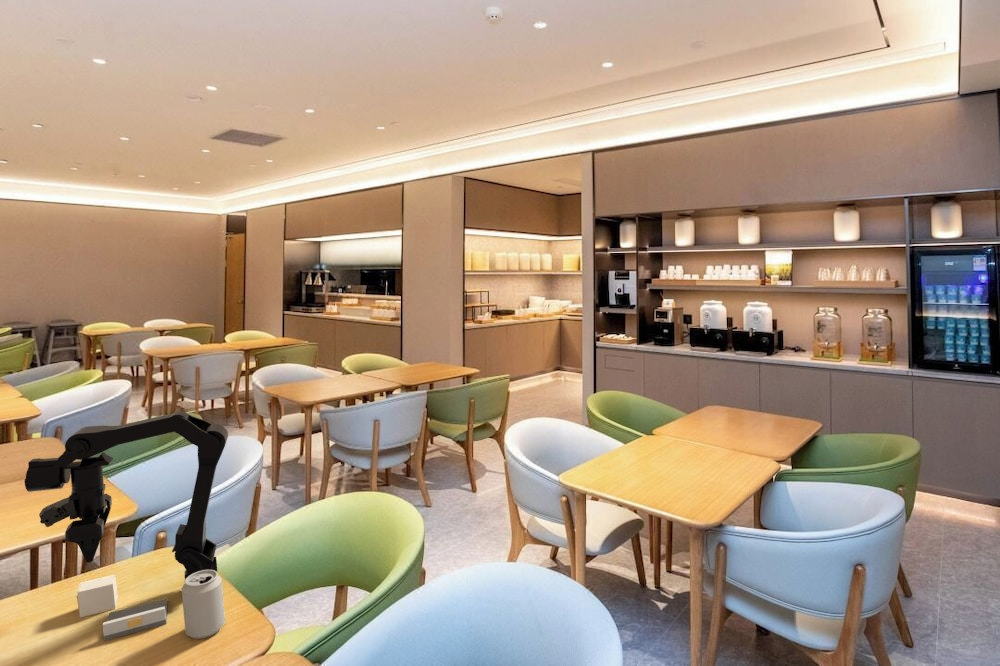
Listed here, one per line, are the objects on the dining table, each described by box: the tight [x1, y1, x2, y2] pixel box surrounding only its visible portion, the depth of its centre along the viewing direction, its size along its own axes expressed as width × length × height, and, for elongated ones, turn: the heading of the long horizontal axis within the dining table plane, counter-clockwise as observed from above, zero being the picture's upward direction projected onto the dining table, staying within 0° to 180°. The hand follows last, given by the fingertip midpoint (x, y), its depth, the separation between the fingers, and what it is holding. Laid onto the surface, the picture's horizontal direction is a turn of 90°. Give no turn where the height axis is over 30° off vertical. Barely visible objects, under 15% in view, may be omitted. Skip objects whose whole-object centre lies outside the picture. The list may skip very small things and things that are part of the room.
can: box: [181, 570, 226, 640], centre depth 119 cm, size 8×8×12 cm
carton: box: [76, 574, 119, 618], centre depth 128 cm, size 7×4×6 cm
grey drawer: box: [102, 598, 168, 642], centre depth 123 cm, size 11×9×4 cm
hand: (92, 552), depth 127 cm, fingers open, 9 cm apart
